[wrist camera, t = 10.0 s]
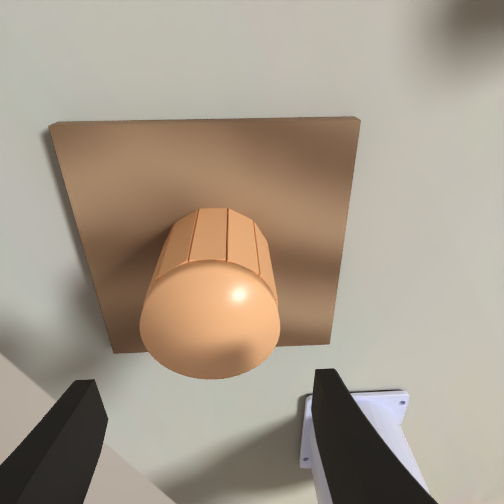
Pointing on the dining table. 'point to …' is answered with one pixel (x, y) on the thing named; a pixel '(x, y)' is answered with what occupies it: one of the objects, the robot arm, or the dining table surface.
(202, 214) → the wire nut cap
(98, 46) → the dining table surface
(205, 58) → the dining table surface
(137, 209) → the post block
